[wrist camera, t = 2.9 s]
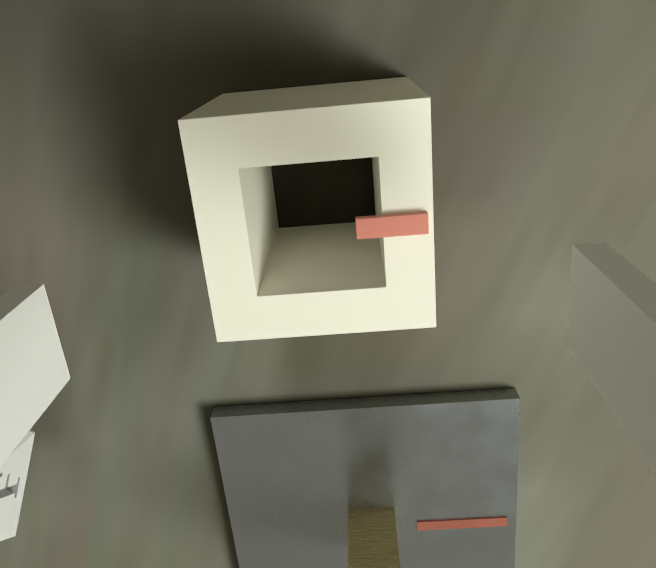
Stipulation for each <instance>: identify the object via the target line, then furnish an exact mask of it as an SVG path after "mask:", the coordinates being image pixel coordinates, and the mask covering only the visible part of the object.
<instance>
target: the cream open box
mask: <svg viewBox="0 0 656 568" xmlns="http://www.w3.org/2000/svg"><path fill="white" fill-rule="evenodd" d="M178 125H179V131H180V136H181V142H182V147H183V153H184V159H185V164H186V170H187V175H188V181H189V186H190V192H191V198H192V203H193V209H194V214H195V220H196V226H197V231H198V237H199V242H200V248H201V254H202V259H203V265H204V270H205V276H206V281H207V287H208V293H209V298H210V304H211V309H212V315H213V321H214V326H215V332H216V337H217V342H226V341H241V340H255V339H270V338H284V337H299V336H314V335H328V334H343V333H357V332H372V331H386V330H401V329H415V328H430V327H436V302H435V263H434V224H433V185H432V146H431V107H430V97H429V96H428V95H427V94H426V93H425V92H423V91H422V90H421V89H420V88H419V87H418V86H417V85H416V84H414V83H413V82H412V81H411V80H410V79H409V78H408V77H398V78H387V79H376V80H365V81H355V82H344V83H333V84H322V85H311V86H300V87H289V88H278V89H268V90H257V91H246V92H235V93H224V94H221V95H220V96H218V97H216V98H215V99H213V100H211V101H209V102H208V103H206V104H204V105H203V106H201V107H199V108H198V109H196V110H194V111H192V112H191V113H189V114H187V115H186V116H184V117H182V118H181V119H179V120H178ZM369 157H372V167H373V183H374V198H375V214H376V215H372V216H360V217H355V220H356V222H349V223H337V224H324V225H312V226H299V227H286V228H279V225H278V217H277V210H276V202H275V194H274V186H273V178H272V170H271V166H275V165H286V164H298V163H310V162H322V161H333V160H345V159H357V158H369Z"/></svg>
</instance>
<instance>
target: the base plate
mask: <svg viewBox="0 0 656 568" xmlns="http://www.w3.org/2000/svg"><path fill="white" fill-rule="evenodd" d="M519 414H520V397H519V395H518V393H517V391H516V389H515V388H506V389H490V390H474V391H458V392H442V393H426V394H410V395H394V396H378V397H362V398H346V399H330V400H314V401H298V402H283V403H267V404H251V405H235V406H219V407H214V408H213V411H212V414H211V417H210V419H211V424H212V429H213V435H214V440H215V445H216V450H217V455H218V460H219V466H220V471H221V476H222V481H223V486H224V491H225V496H226V502H227V507H228V512H229V517H230V522H231V527H232V532H233V538H234V543H235V548H236V553H237V558H238V563H239V568H514V561H515V532H516V502H517V473H518V443H519Z"/></svg>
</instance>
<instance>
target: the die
mask: <svg viewBox="0 0 656 568" xmlns="http://www.w3.org/2000/svg"><path fill="white" fill-rule="evenodd" d="M34 435H35V432H34V431H33V430H32V429H30V430H29V431H28V433H27V434H26V435H25V436H24V438H23V439H22V440H21V441H20V443H19V444H18V445H17V446H16V448H15V449H14V450H13V452H12V453H11V454H10V455H9V457H8V458H7V459H6V460H5V462H4V463H3V464H2V465H1V467H0V541H2V540H5V539H8V538H11V537H14V536H15V535H16V530H17V525H18V519H19V514H20V509H21V504H22V498H23V493H24V488H25V483H26V477H27V472H28V467H29V462H30V456H31V451H32V446H33V441H34Z"/></svg>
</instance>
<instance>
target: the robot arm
mask: <svg viewBox="0 0 656 568" xmlns="http://www.w3.org/2000/svg"><path fill="white" fill-rule="evenodd" d="M566 346H567V348H568V349H569V350H570V352H571V353H572V355H573V356H574V358H575V359H576V361H577V362H578V363H579V365H580V366H581V368H582V369H583V371H584V372H585V374H586V375H587V376H588V378H589V379H590V381H591V382H592V384H593V385H594V387H595V388H596V389H597V391H598V392H599V394H600V395H601V397H602V398H603V400H604V401H605V402H606V404H607V405H608V407H609V408H610V410H611V411H612V412H613V414H614V415H615V417H616V418H617V420H618V421H619V423H620V424H621V425H622V427H623V428H624V430H625V431H626V433H627V434H628V436H629V437H630V438H631V440H632V441H633V443H634V444H635V446H636V447H637V449H638V450H639V451H640V453H641V454H642V456H643V457H644V459H645V460H646V461H647V463H648V464H649V466H650V467H651V469H652V470H653V472H654V473H655V474H656V283H654V282H653V281H652V280H651V279H650V278H648V277H647V276H646V275H645V274H643V273H642V272H641V271H640V270H639V269H637V268H636V267H635V266H634V265H633V264H631V263H630V262H629V261H628V260H626V259H625V258H624V257H623V256H622V255H620V254H619V253H618V252H617V251H616V250H614V249H613V248H612V247H611V246H609V245H608V244H607V243H606V242H597V243H583V244H572V260H571V277H570V293H569V310H568V326H567V342H566ZM69 379H70V375H69V372H68V368H67V365H66V361H65V357H64V354H63V350H62V347H61V343H60V340H59V336H58V333H57V329H56V326H55V322H54V319H53V315H52V312H51V308H50V304H49V301H48V297H47V294H46V290H45V287H44V284H36V285H23V286H14V287H13V288H11V289H10V290H9V291H8V292H6V293H5V294H4V295H2V296H1V297H0V467H1V465H2V464H3V463H4V462H5V460H6V459H7V458H8V457H9V455H10V454H11V453H12V452H13V450H14V449H15V448H16V446H17V445H18V444H19V443H20V441H21V440H22V439H23V438H24V436H25V435H26V434H27V433H28V431H29V430H30V429H31V428H32V426H33V425H34V424H35V422H36V421H37V420H38V419H39V417H40V416H41V415H42V414H43V412H44V411H45V410H46V409H47V407H48V406H49V405H50V403H51V402H52V401H53V400H54V398H55V397H56V396H57V395H58V393H59V392H60V391H61V390H62V388H63V387H64V386H65V385H66V383H67V382H68V381H69Z"/></svg>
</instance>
